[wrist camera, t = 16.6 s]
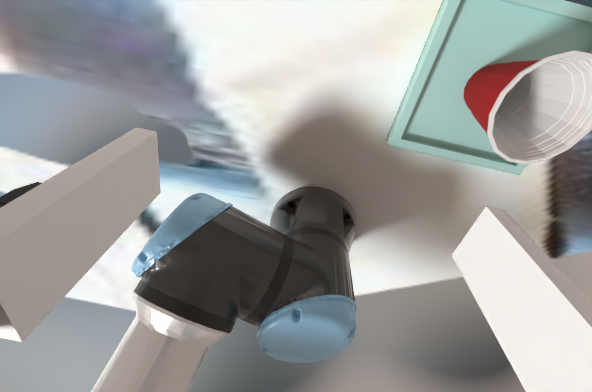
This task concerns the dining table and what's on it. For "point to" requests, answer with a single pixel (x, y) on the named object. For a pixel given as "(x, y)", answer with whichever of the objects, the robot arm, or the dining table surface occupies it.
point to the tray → (472, 57)
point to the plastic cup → (533, 105)
